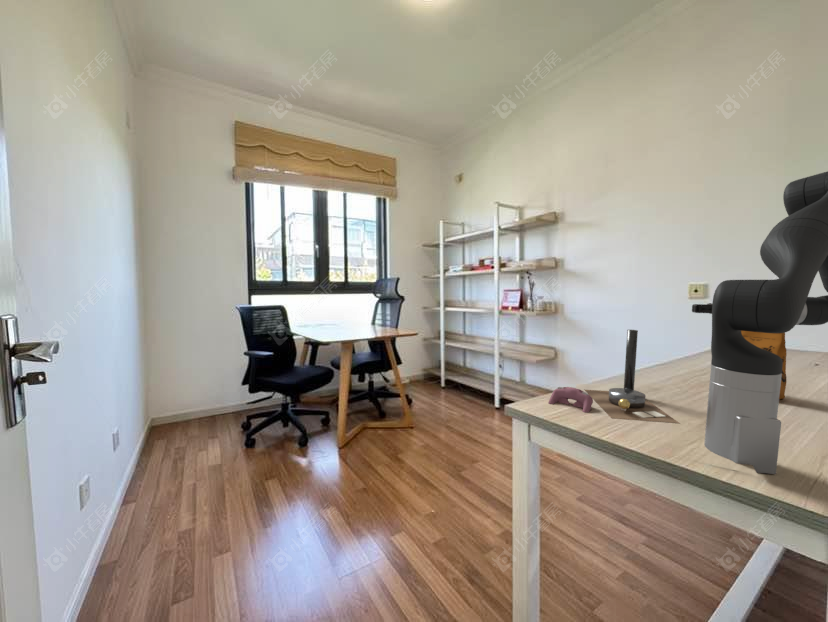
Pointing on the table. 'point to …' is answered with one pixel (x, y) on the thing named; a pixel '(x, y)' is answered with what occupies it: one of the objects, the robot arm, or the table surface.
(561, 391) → the video game controller
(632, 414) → the walnut board
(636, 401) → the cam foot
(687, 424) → the table surface
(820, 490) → the table surface
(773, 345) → the coffee package
